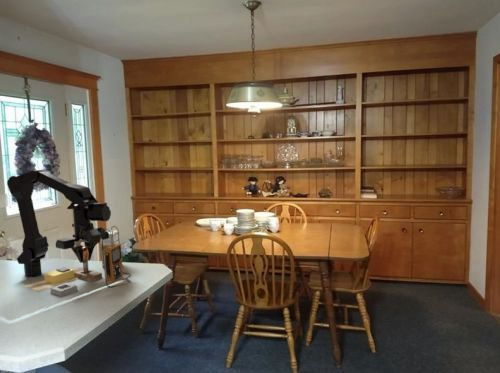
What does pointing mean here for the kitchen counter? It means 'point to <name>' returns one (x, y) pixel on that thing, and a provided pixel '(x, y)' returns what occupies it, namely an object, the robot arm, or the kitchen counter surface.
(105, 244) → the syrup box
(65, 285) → the awl holder
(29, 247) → the robot arm
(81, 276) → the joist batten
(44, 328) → the kitchen counter surface
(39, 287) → the subfloor panel
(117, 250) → the multimeter
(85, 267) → the awl
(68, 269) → the block
